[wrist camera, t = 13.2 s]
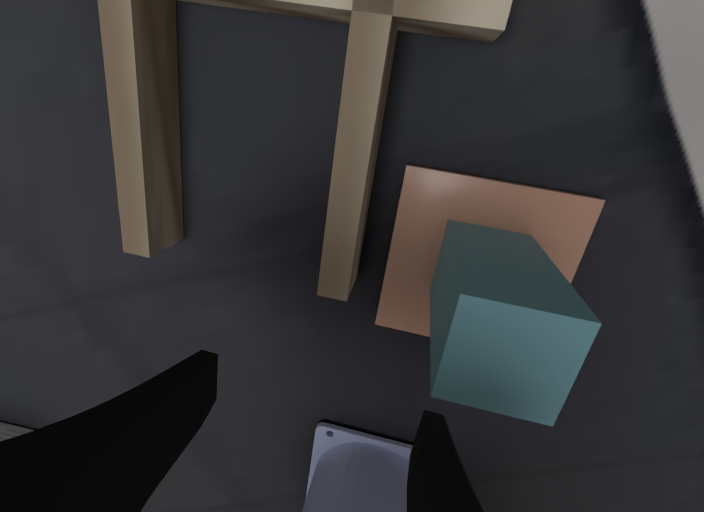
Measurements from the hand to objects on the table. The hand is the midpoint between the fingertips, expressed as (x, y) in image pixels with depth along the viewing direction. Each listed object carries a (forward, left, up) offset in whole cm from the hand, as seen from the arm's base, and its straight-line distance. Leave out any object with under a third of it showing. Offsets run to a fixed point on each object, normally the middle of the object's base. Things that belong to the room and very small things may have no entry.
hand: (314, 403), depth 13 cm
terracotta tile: (-6, -2, -9) cm, 11 cm away
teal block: (-6, -3, -9) cm, 11 cm away
